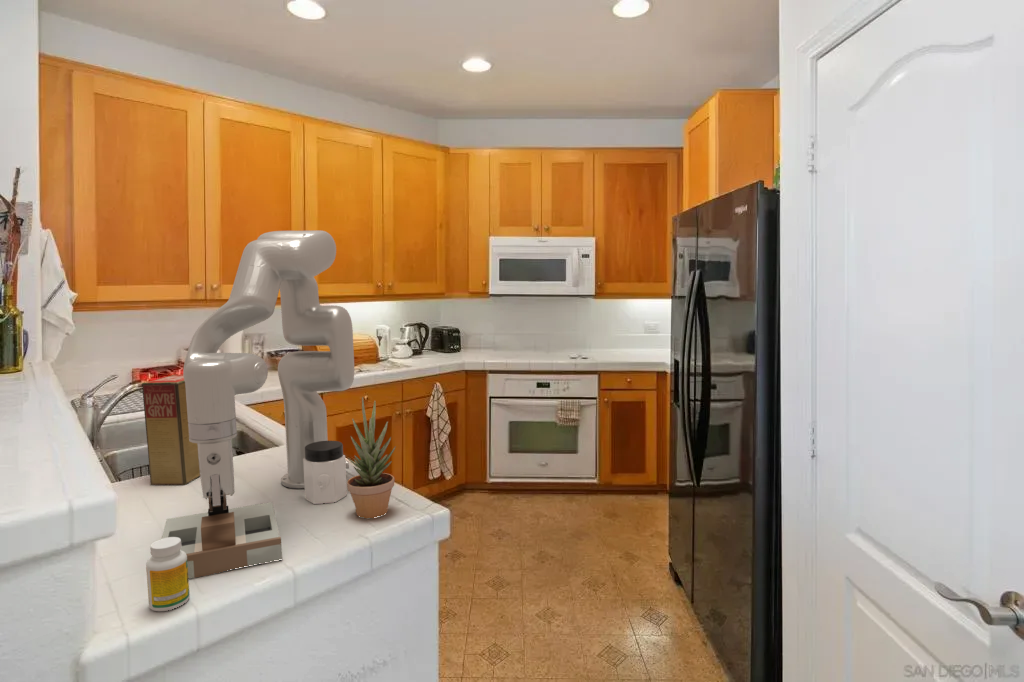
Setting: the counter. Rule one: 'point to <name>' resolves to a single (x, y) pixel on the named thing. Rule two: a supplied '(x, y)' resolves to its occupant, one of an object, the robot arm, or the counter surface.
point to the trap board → (252, 545)
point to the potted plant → (371, 471)
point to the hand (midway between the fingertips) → (219, 529)
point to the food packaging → (169, 432)
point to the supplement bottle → (167, 575)
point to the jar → (324, 472)
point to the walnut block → (218, 531)
